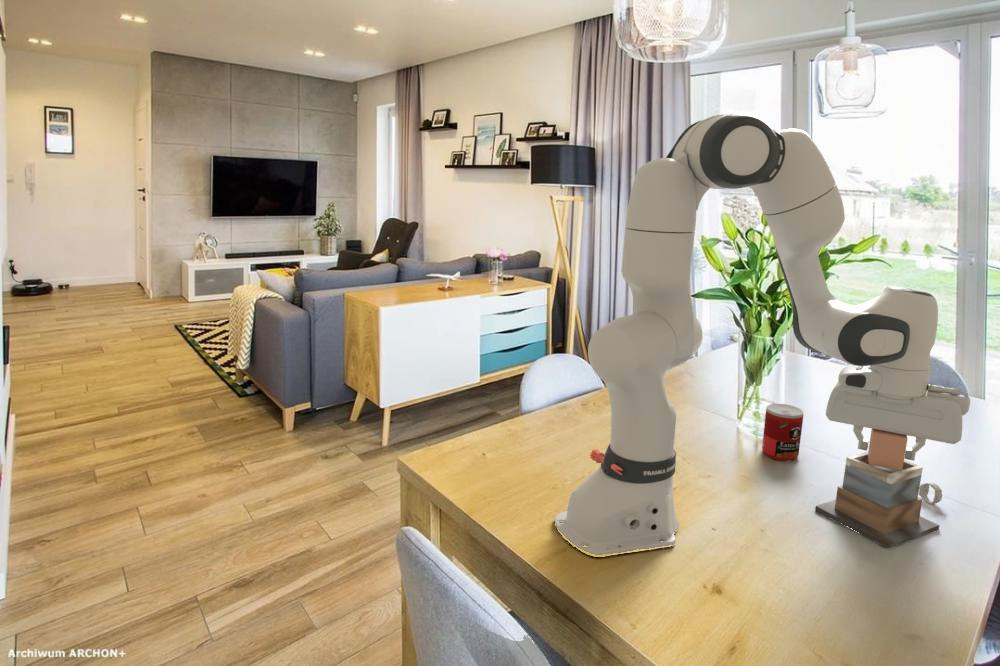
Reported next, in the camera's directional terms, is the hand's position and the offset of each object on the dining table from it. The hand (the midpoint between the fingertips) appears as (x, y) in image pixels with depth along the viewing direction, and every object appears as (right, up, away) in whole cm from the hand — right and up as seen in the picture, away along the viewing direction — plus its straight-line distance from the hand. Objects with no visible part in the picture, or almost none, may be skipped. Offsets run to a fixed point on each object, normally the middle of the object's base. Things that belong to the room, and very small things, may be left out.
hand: (885, 453), depth 108 cm
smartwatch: (+14, -12, +10) cm, 21 cm away
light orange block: (0, -2, 0) cm, 2 cm away
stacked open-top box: (0, -13, +3) cm, 13 cm away
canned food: (-5, -7, +31) cm, 32 cm away
